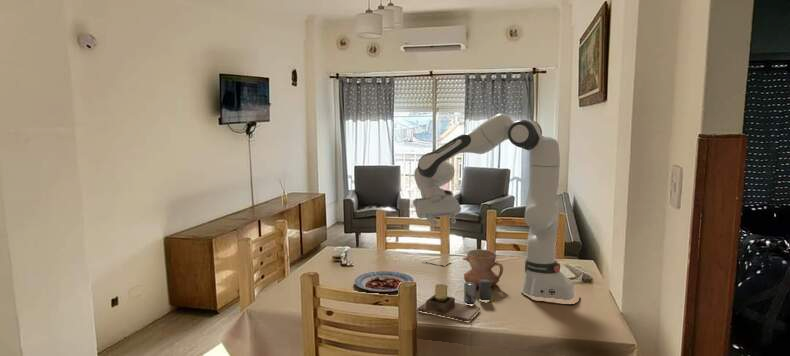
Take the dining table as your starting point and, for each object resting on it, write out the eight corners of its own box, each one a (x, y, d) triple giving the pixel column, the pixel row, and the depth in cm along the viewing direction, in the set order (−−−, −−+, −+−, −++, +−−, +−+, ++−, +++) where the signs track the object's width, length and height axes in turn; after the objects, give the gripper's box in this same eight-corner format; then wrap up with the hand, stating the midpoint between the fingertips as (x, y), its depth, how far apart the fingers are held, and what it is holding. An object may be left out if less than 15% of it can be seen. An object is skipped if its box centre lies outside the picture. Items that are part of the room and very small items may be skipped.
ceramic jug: (455, 286, 209) (456, 253, 207) (469, 277, 221) (470, 246, 219) (495, 294, 199) (496, 260, 197) (508, 284, 211) (509, 252, 210)
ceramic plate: (408, 298, 196) (408, 290, 195) (346, 293, 201) (346, 286, 200) (418, 277, 221) (418, 271, 220) (363, 274, 226) (363, 267, 225)
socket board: (480, 311, 181) (480, 299, 181) (468, 323, 171) (468, 310, 171) (431, 301, 191) (431, 290, 191) (417, 312, 181) (417, 300, 180)
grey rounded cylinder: (492, 300, 193) (492, 280, 192) (488, 303, 189) (488, 283, 188) (481, 298, 195) (481, 278, 194) (477, 301, 191) (477, 281, 190)
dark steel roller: (477, 303, 190) (477, 283, 189) (473, 307, 186) (473, 286, 185) (466, 301, 192) (466, 281, 191) (462, 304, 188) (462, 284, 187)
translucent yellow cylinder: (448, 306, 182) (449, 285, 181) (443, 310, 179) (444, 288, 178) (438, 304, 185) (438, 283, 184) (432, 307, 181) (433, 286, 180)
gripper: (413, 194, 205) (424, 221, 198) (455, 191, 214) (467, 217, 206) (409, 203, 210) (419, 230, 202) (450, 199, 218) (462, 225, 211)
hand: (444, 223), depth 204 cm, fingers open, 8 cm apart
